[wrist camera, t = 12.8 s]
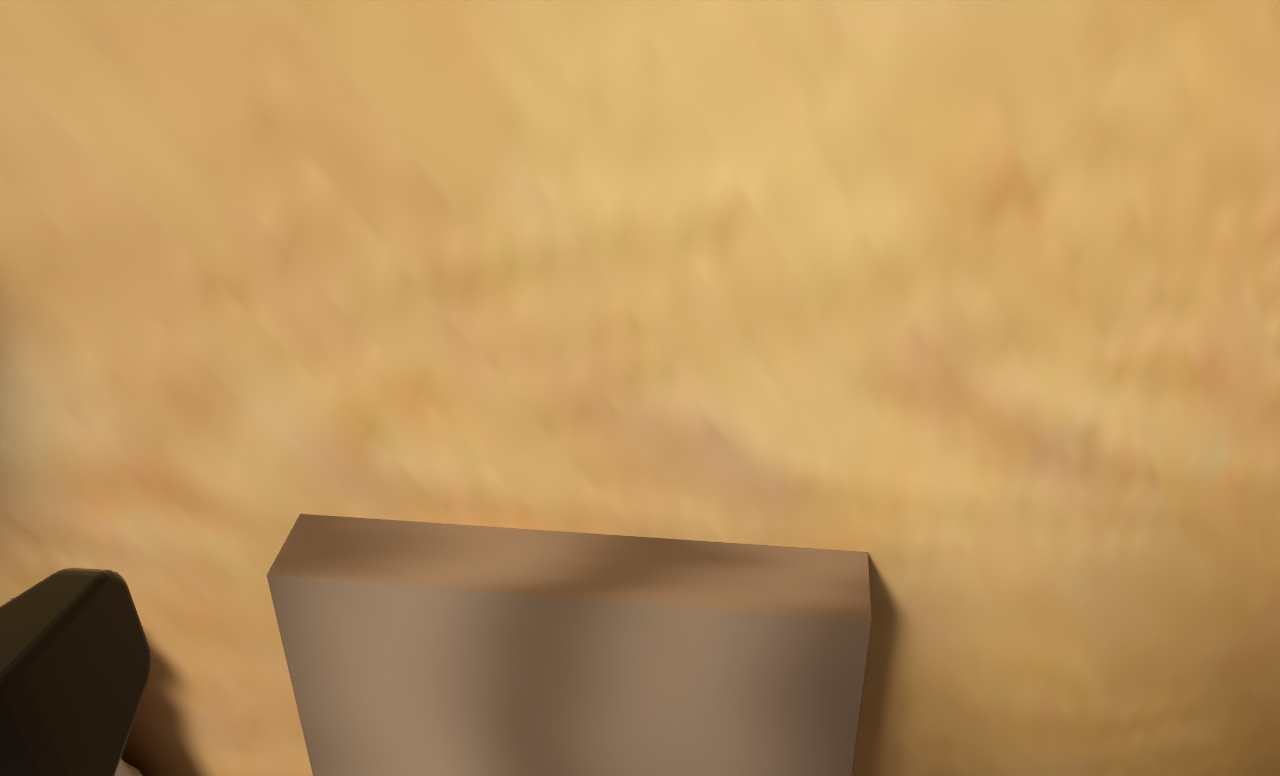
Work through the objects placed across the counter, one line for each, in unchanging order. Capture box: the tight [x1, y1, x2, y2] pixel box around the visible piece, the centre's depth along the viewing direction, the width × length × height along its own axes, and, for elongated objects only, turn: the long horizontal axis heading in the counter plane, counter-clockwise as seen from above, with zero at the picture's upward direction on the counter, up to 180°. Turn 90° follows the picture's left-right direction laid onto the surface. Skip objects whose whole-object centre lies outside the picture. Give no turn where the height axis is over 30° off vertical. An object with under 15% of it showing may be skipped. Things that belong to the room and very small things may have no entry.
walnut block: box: [267, 514, 872, 776], centre depth 28 cm, size 12×12×2 cm
